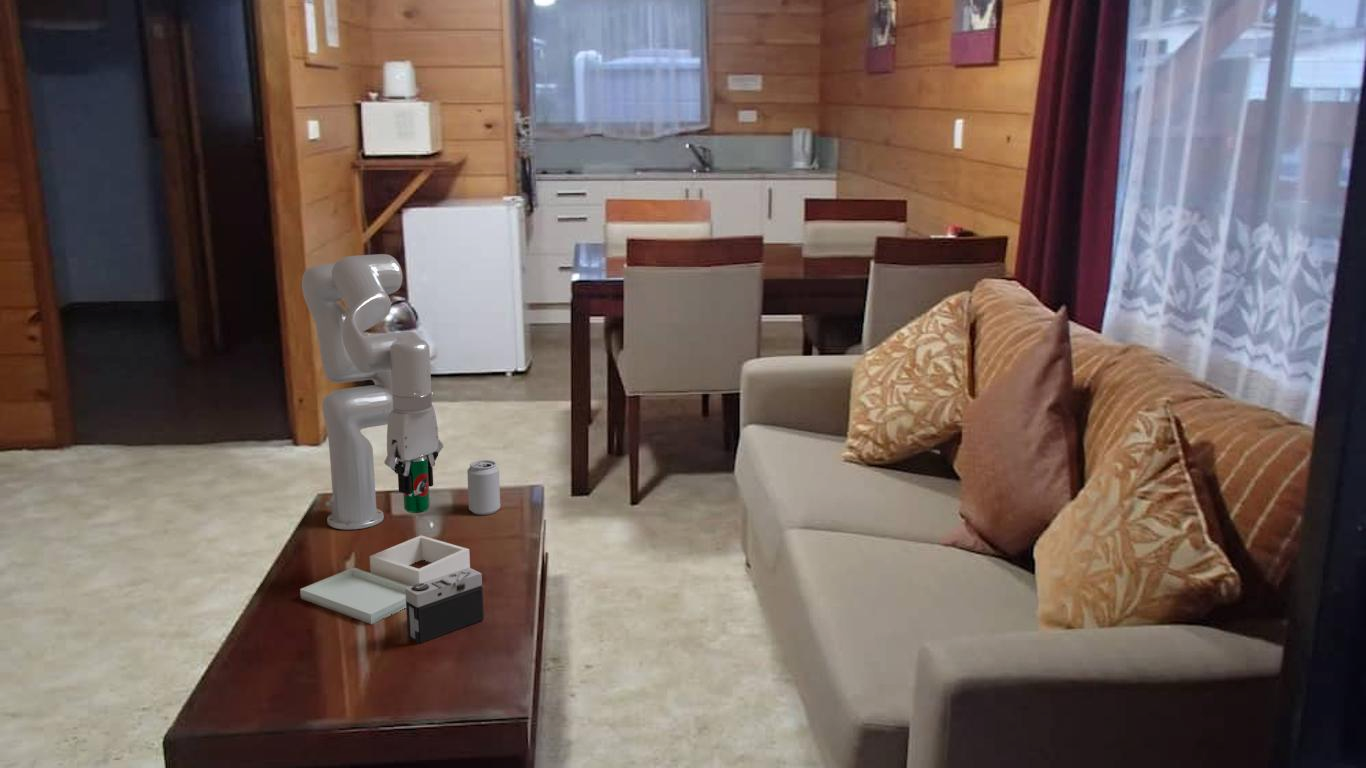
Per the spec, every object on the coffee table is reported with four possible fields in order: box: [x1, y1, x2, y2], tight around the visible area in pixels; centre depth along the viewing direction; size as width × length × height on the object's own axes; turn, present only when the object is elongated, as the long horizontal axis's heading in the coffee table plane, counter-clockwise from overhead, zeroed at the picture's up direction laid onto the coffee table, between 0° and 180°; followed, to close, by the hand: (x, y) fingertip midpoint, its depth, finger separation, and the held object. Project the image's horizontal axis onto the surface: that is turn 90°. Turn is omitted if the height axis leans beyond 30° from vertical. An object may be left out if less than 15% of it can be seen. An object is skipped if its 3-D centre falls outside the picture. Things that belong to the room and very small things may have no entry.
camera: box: [405, 567, 485, 645], centre depth 197 cm, size 14×8×10 cm, turn 135°
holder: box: [369, 534, 471, 586], centre depth 220 cm, size 14×14×5 cm
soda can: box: [402, 455, 431, 514], centre depth 216 cm, size 5×5×12 cm
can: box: [466, 459, 501, 516], centre depth 257 cm, size 8×8×12 cm
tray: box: [299, 567, 411, 625], centre depth 209 cm, size 20×13×2 cm, turn 57°
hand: (416, 488), depth 216 cm, fingers closed on soda can, 5 cm apart
